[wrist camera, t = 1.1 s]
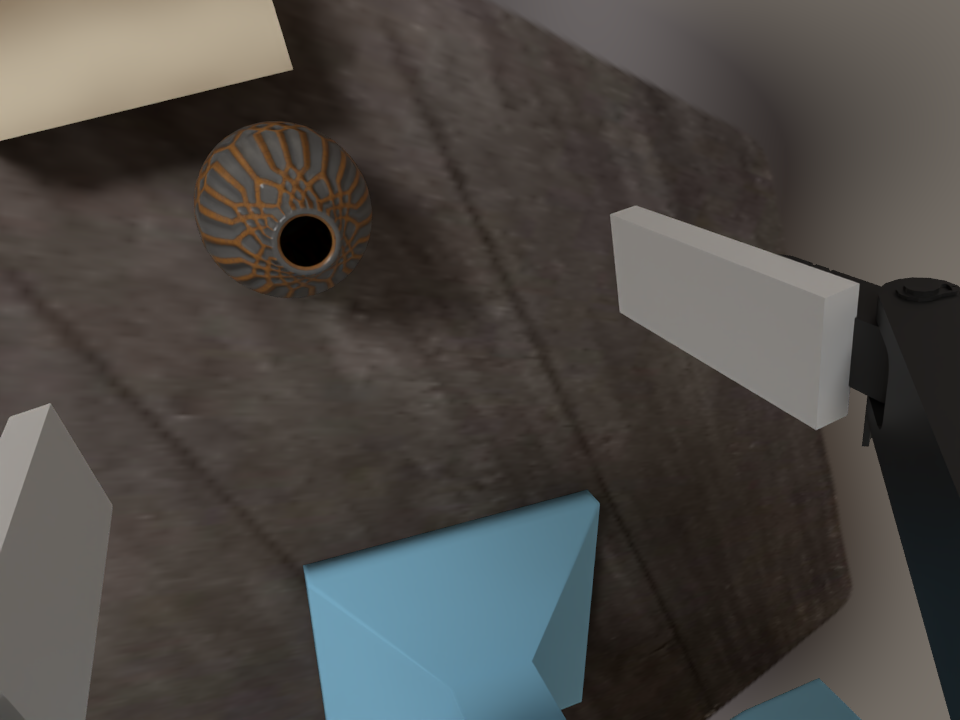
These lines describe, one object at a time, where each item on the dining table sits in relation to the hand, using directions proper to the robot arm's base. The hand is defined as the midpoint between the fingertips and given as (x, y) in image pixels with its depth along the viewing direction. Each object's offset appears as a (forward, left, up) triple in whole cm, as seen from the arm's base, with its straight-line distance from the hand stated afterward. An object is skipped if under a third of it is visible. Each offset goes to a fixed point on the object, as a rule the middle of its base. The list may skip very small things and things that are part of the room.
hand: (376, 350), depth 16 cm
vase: (0, 0, -18) cm, 18 cm away
